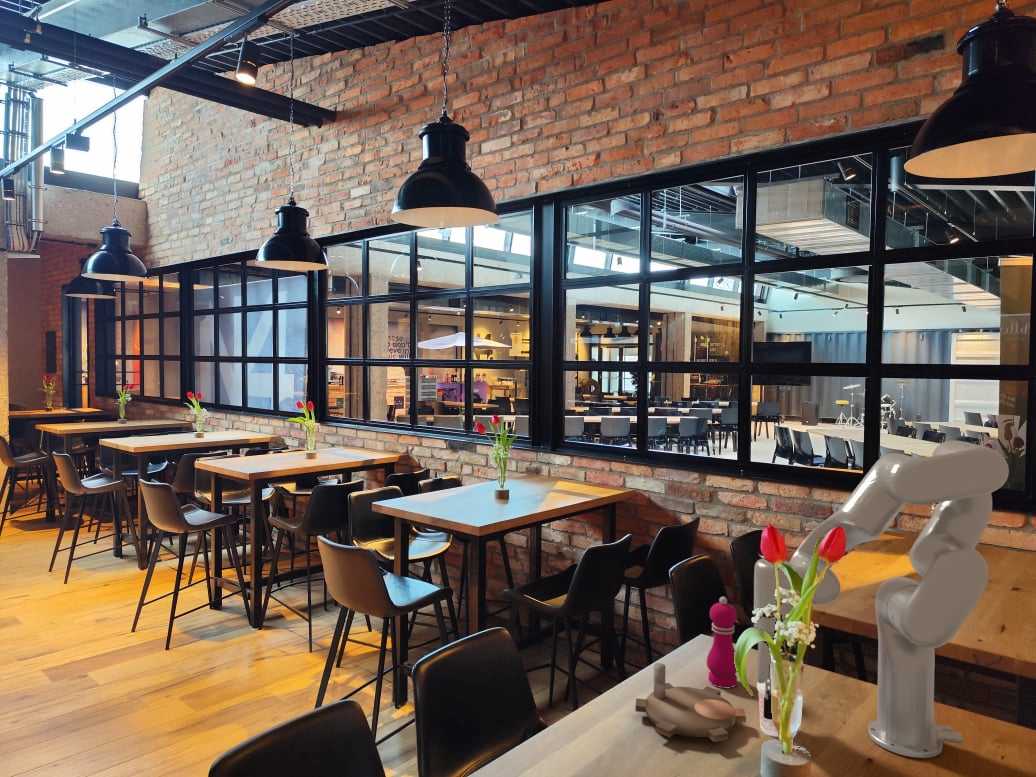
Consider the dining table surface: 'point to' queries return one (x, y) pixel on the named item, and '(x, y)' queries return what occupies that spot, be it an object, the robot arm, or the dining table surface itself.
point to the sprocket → (688, 710)
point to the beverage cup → (764, 723)
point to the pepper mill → (722, 645)
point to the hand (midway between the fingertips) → (772, 710)
